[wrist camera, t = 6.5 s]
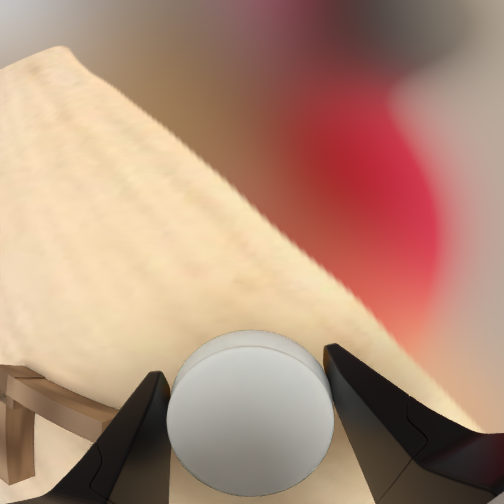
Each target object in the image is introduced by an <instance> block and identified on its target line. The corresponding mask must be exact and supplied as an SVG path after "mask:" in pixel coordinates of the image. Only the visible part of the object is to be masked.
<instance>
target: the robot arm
mask: <svg viewBox="0 0 504 504" xmlns="http://www.w3.org/2000/svg"><path fill="white" fill-rule="evenodd" d="M323 366H324V370H325V374H326V376H327V378H328V381H329V384H330V388H331V392H332V398H333V402H334V405H335V408H336V410H337V413H338V415H339V417H340V420H341V422H342V424H343V427H344V429H345V431H346V434H347V436H348V439H349V441H350V443H351V446H352V448H353V450H354V453H355V455H356V458H357V460H358V462H359V465H360V467H361V469H362V472H363V474H364V477H365V479H366V481H367V484H368V486H369V489H370V491H371V494H372V496H373V498H374V501H375V503H376V504H504V433H495V434H484V433H478V432H475V431H472V430H470V429H468V428H465V427H463V426H461V425H460V424H458V423H456V422H454V421H452V420H450V419H448V418H446V417H444V416H442V415H440V414H438V413H436V412H435V411H433V410H431V409H429V408H428V407H426V406H425V405H423V404H422V403H420V402H419V401H417V400H416V399H414V398H413V397H411V396H409V395H408V394H407V393H406V392H404V391H403V390H401V389H400V388H398V387H397V386H396V385H394V384H393V383H391V382H390V381H388V380H387V379H386V378H384V377H383V376H381V375H380V374H379V373H377V372H376V371H374V370H373V369H372V368H370V367H369V366H367V365H366V364H365V363H363V362H362V361H360V360H359V359H358V358H356V357H355V356H354V355H352V354H351V353H349V352H348V351H347V350H345V349H344V348H343V347H341V346H340V345H338V344H337V343H333V344H329V345H325V346H324V354H323ZM170 398H171V392H170V387H169V385H168V383H167V380H166V378H165V376H164V374H163V372H162V371H151V372H149V373H148V374H147V376H146V377H145V378H144V379H143V381H142V382H141V383H140V385H139V386H138V387H137V388H136V390H135V391H134V392H133V394H132V395H131V396H130V397H129V399H128V400H127V401H126V403H125V404H124V405H123V406H122V408H121V409H120V410H119V412H118V413H117V414H116V415H115V417H114V418H113V419H112V421H111V422H110V423H109V424H108V426H107V427H106V428H105V430H104V431H103V432H102V433H101V435H100V436H99V437H98V439H97V440H96V442H94V444H93V445H92V446H91V448H90V449H89V450H88V451H87V453H86V454H85V455H84V456H83V457H82V459H81V460H80V461H79V462H78V463H77V464H76V465H75V466H74V467H73V468H72V469H71V471H70V472H69V473H68V474H67V475H66V476H65V477H64V478H63V479H62V480H61V481H60V482H59V483H58V484H57V485H56V486H55V487H54V488H53V489H52V490H50V491H49V492H48V493H46V494H44V495H43V496H40V497H37V498H32V499H28V500H23V501H18V502H13V503H8V504H169V478H170V458H171V443H170V439H169V436H168V430H167V420H166V419H167V411H168V405H169V401H170Z"/></svg>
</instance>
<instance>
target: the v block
mask: <svg viewBox="0 0 504 504" xmlns="http://www.w3.org/2000/svg"><path fill="white" fill-rule="evenodd" d="M34 412H35V413H37V414H38V415H40V416H42V417H44V418H45V419H47V420H49V421H51V422H53V423H55V424H57V425H58V426H60V427H62V428H64V429H66V430H68V431H70V432H72V433H74V434H77V435H79V436H81V437H83V438H85V439H87V440H90V441H92V442H96V440H97V439H98V437H99V436H100V435H101V433H102V432H103V431H104V430H105V428H106V427H107V426H108V424H109V423H110V422H111V421H112V419H113V418H114V417H115V415H116V414H117V413H118V412H119V410H116V409H114V408H111V407H108V406H106V405H103V404H100V403H98V402H95V401H93V400H90V399H88V398H86V397H83V396H81V395H78V394H76V393H74V392H72V391H69V390H67V389H65V388H63V387H61V386H59V385H57V384H54V383H52V382H50V381H48V380H46V379H45V377H44V376H42V375H40V374H38V373H36V372H34V371H32V370H30V369H28V368H26V367H25V366H12V365H0V479H2V480H3V481H4V482H5V483H7V484H8V485H12V484H14V483H17V482H20V481H22V480H25V479H28V478H30V477H33V476H35V475H34Z"/></svg>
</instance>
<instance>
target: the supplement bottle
mask: <svg viewBox="0 0 504 504" xmlns="http://www.w3.org/2000/svg"><path fill="white" fill-rule="evenodd" d="M166 420H167V430H168V436H169V439H170V443H171V446H172V448H173V450H174V452H175V454H176V456H177V458H178V459H179V461H180V462H181V464H182V465H183V466H184V467H185V469H186V470H187V471H188V472H189V473H190V474H191V475H193V476H194V477H195V478H196V479H198V480H199V481H201V482H202V483H204V484H206V485H207V486H209V487H211V488H213V489H215V490H218V491H220V492H223V493H227V494H231V495H236V496H245V497H257V496H265V495H271V494H275V493H278V492H281V491H284V490H287V489H289V488H291V487H293V486H294V485H296V484H298V483H300V482H301V481H302V480H304V479H305V478H306V477H308V476H309V475H310V474H311V473H312V472H313V471H314V470H315V469H316V468H317V466H318V465H319V464H320V463H321V461H322V460H323V458H324V456H325V455H326V453H327V451H328V448H329V446H330V443H331V440H332V436H333V431H334V413H333V398H332V392H331V388H330V384H329V381H328V378H327V376H326V374H325V372H324V370H323V369H322V367H321V365H320V364H319V363H318V361H317V360H316V359H315V358H314V356H313V355H312V354H311V353H310V352H308V351H307V350H306V349H305V348H304V347H302V346H301V345H300V344H298V343H297V342H295V341H293V340H291V339H289V338H287V337H285V336H283V335H280V334H276V333H273V332H268V331H262V330H242V331H235V332H230V333H227V334H224V335H221V336H218V337H216V338H214V339H212V340H210V341H208V342H207V343H205V344H203V345H202V346H201V347H199V348H198V349H197V350H196V351H195V352H193V353H192V354H191V355H190V357H189V358H188V359H187V360H186V361H185V363H184V364H183V366H182V367H181V369H180V370H179V372H178V374H177V376H176V378H175V381H174V385H173V388H172V392H171V398H170V401H169V405H168V411H167V419H166Z"/></svg>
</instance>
